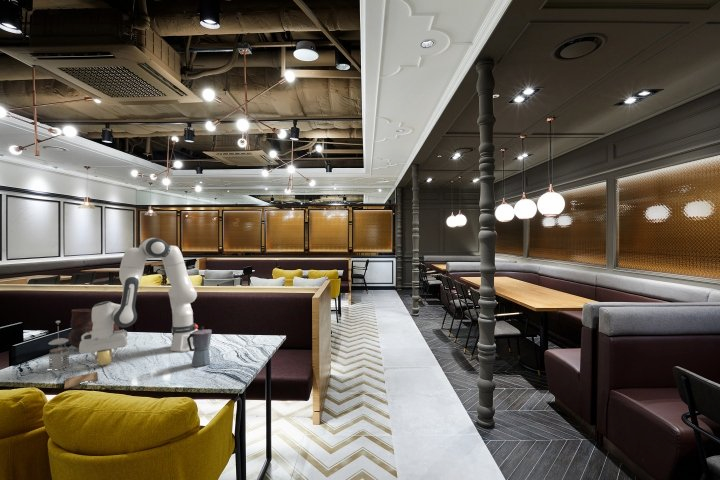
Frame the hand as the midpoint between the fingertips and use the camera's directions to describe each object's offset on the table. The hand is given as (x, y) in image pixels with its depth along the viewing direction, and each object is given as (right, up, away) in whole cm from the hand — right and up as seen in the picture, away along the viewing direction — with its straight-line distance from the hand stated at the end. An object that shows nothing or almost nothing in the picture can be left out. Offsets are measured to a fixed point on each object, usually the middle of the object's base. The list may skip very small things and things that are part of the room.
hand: (104, 358), depth 174 cm
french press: (-24, -5, 0) cm, 24 cm away
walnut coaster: (+3, -5, -17) cm, 18 cm away
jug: (-30, -4, +31) cm, 43 cm away
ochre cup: (0, -3, 0) cm, 3 cm away
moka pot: (+51, -4, +1) cm, 51 cm away
